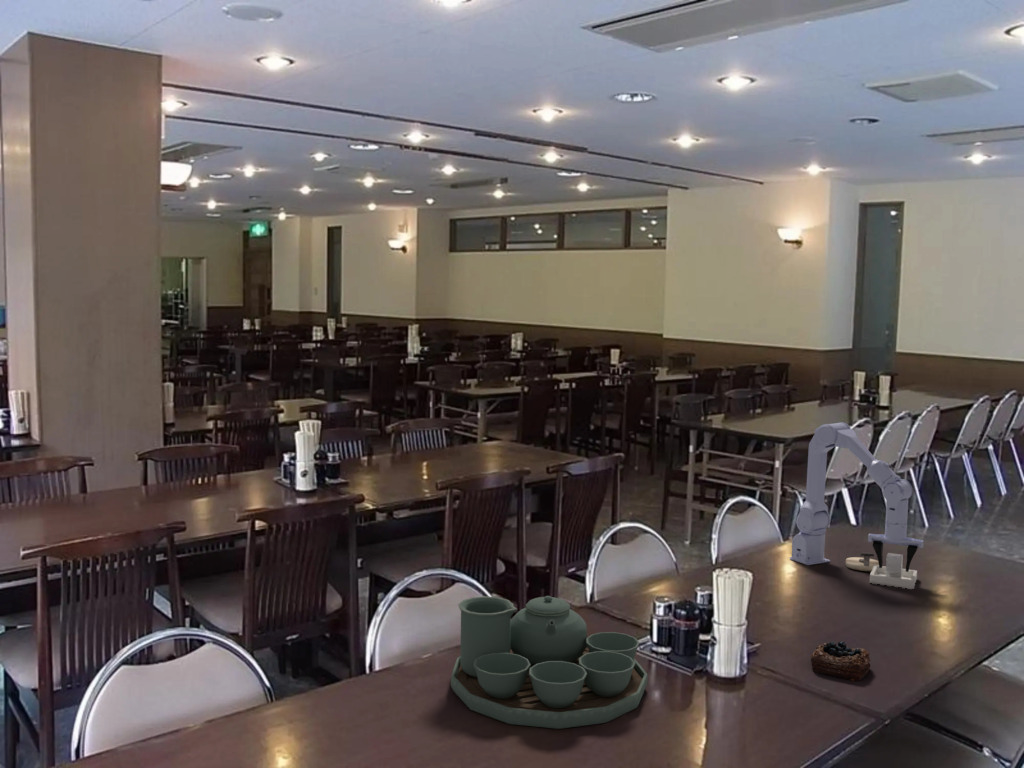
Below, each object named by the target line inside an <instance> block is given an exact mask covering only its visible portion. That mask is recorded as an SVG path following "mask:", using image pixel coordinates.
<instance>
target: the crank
mask: <svg viewBox="0 0 1024 768" xmlns="http://www.w3.org/2000/svg"><path fill="white" fill-rule="evenodd" d="M859 552H860V551H859ZM859 555H860V557H859V556H854V557H853V556H852V557H847V558H846V559H845V563H844V564H845V566H846V567H847V568H848V569H851V570H855V571H862V572H871V571H872V569H873V567H874V565H879V562H878V559H873V558H871V557H875V554H874V552H860V553H859Z"/></svg>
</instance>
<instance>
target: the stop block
mask: <svg viewBox="0 0 1024 768" xmlns="http://www.w3.org/2000/svg"><path fill="white" fill-rule="evenodd" d="M903 558H904V554H899V553H893V552H887V554H886V557H885V559H886V560H885V561H886V562H885V566H886V576H887V577H894V578H902V569H903V562H904V561H903V560H904V559H903Z"/></svg>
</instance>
